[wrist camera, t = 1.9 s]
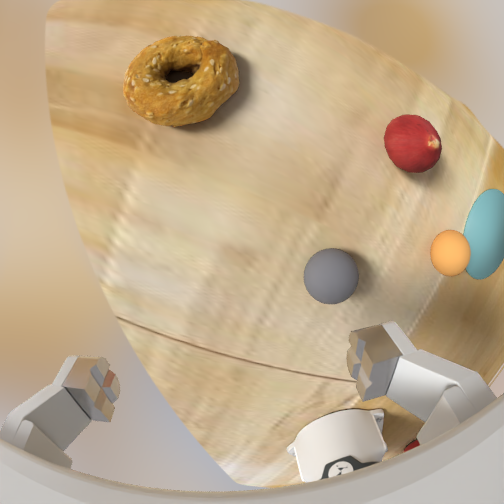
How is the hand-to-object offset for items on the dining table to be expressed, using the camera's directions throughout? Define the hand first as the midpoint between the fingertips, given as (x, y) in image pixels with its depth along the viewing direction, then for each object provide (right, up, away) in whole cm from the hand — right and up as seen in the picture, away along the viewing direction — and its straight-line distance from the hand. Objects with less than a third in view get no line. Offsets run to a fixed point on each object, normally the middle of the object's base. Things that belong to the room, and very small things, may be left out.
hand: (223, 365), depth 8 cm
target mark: (+36, +6, +20) cm, 42 cm away
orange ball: (+24, +3, +18) cm, 30 cm away
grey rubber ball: (+9, +1, +18) cm, 20 cm away
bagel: (-6, +20, +15) cm, 26 cm away
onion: (+16, +15, +17) cm, 28 cm away
